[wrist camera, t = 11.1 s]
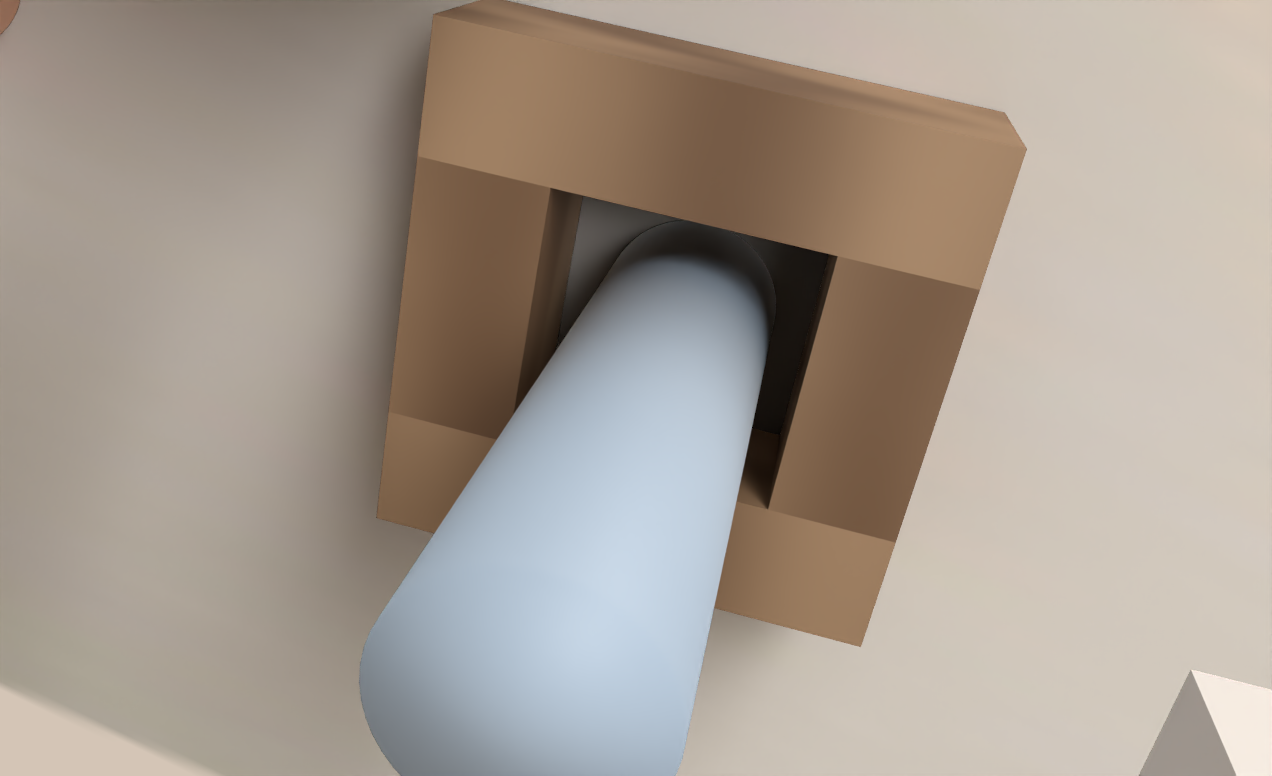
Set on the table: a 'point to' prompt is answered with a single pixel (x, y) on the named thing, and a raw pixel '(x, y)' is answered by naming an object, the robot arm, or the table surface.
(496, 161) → the socket block
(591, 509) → the long peg
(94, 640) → the table surface
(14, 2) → the short peg
